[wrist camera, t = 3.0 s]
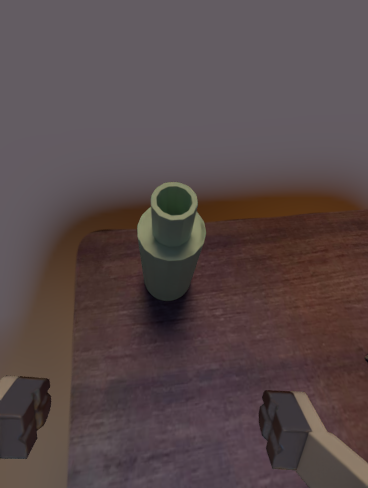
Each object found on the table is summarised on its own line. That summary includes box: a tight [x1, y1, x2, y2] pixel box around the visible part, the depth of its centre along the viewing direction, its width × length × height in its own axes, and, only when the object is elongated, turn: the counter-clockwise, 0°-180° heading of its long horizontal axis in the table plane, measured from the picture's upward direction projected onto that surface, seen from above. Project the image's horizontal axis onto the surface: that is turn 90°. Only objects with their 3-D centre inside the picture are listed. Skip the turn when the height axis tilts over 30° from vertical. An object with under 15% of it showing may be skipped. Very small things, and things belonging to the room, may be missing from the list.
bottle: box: [137, 182, 206, 301], centre depth 25 cm, size 6×6×16 cm
